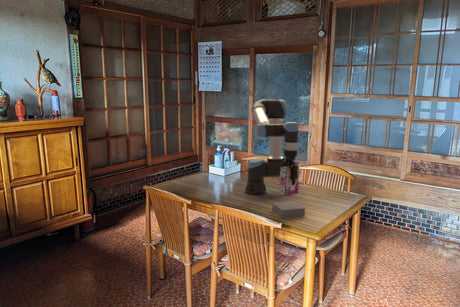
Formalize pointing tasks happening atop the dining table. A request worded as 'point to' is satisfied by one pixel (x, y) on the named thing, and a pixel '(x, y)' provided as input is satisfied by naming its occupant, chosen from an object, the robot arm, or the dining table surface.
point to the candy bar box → (287, 182)
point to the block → (288, 209)
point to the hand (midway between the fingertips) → (289, 188)
